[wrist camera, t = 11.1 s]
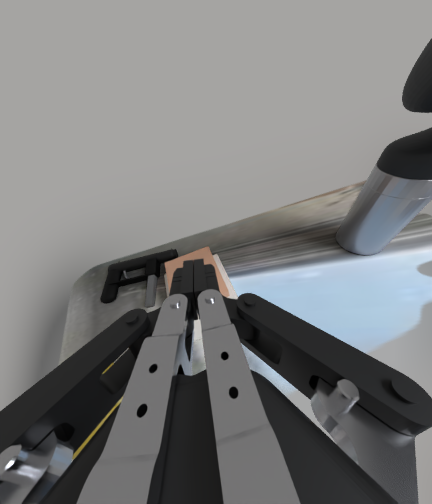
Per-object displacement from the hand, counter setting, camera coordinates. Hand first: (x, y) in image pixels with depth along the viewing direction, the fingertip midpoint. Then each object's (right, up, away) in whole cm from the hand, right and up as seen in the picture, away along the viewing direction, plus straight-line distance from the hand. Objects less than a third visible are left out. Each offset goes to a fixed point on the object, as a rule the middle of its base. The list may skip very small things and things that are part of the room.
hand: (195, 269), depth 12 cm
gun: (-18, -7, +30) cm, 36 cm away
